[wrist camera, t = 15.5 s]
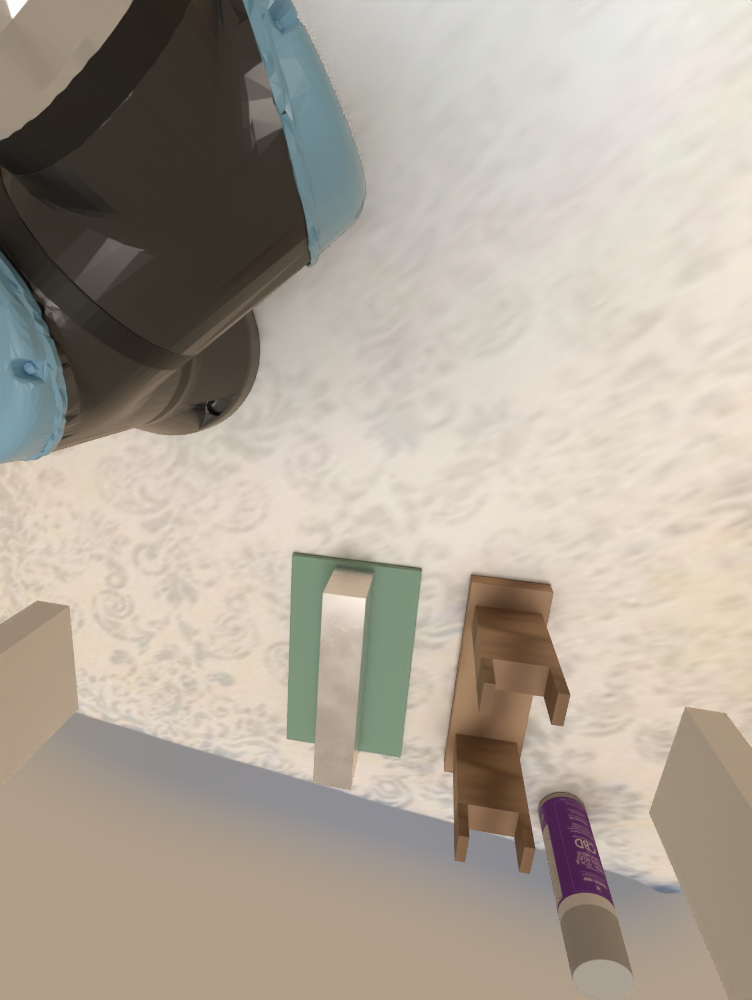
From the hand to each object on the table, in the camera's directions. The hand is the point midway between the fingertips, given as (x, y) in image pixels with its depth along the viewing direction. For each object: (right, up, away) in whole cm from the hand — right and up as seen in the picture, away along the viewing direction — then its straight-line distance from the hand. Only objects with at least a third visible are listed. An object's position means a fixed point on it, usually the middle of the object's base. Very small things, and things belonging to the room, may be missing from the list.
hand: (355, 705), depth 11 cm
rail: (-2, -11, +40) cm, 41 cm away
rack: (+12, -13, +39) cm, 43 cm away
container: (+20, -27, +43) cm, 54 cm away
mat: (-2, -11, +40) cm, 42 cm away
